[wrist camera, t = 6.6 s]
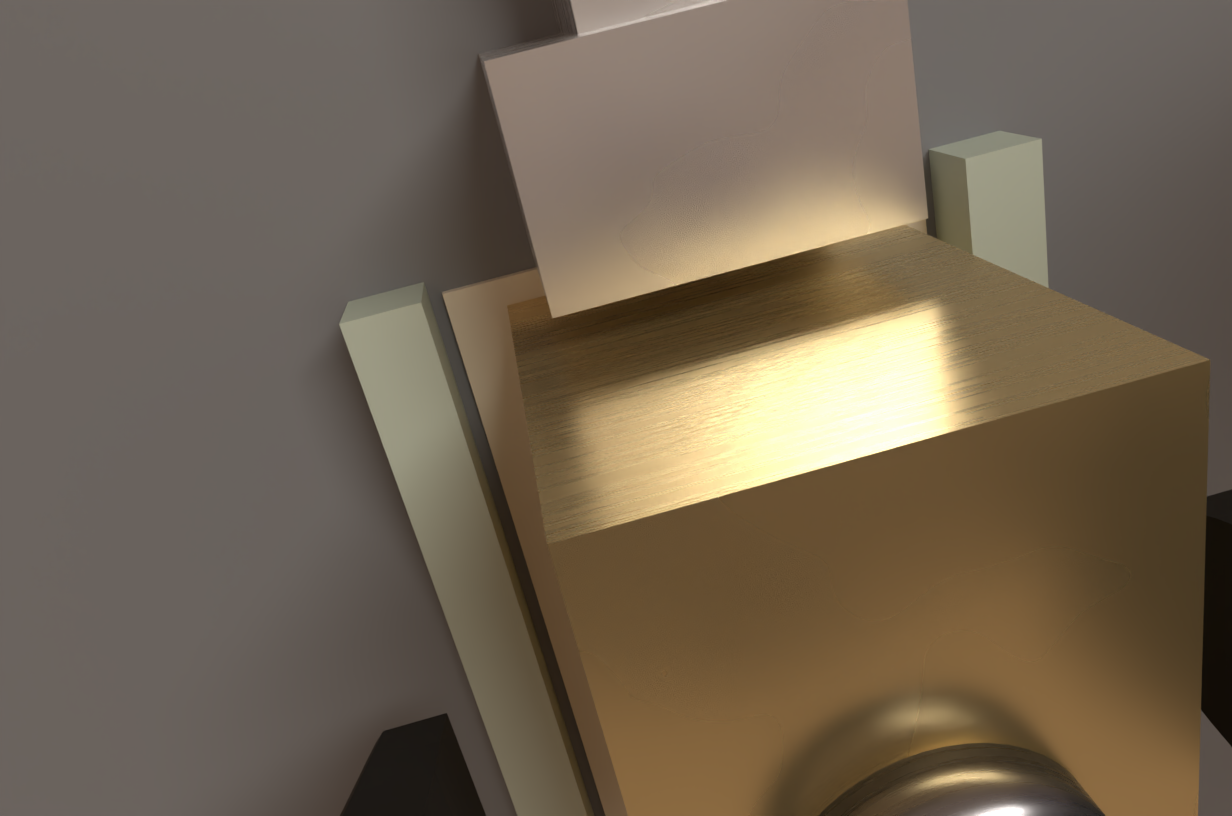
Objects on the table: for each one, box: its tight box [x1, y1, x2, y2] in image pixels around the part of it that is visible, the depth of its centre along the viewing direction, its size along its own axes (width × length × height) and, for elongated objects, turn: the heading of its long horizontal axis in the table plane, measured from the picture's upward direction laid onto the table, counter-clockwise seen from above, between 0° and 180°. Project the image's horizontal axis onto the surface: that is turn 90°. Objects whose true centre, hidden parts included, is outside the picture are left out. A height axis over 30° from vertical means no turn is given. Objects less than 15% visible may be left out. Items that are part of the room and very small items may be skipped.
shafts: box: [478, 0, 928, 318], centre depth 11 cm, size 5×24×2 cm, turn 13°
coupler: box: [507, 225, 1210, 816], centre depth 9 cm, size 7×4×6 cm, turn 13°
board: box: [0, 0, 1232, 816], centre depth 12 cm, size 18×24×2 cm
